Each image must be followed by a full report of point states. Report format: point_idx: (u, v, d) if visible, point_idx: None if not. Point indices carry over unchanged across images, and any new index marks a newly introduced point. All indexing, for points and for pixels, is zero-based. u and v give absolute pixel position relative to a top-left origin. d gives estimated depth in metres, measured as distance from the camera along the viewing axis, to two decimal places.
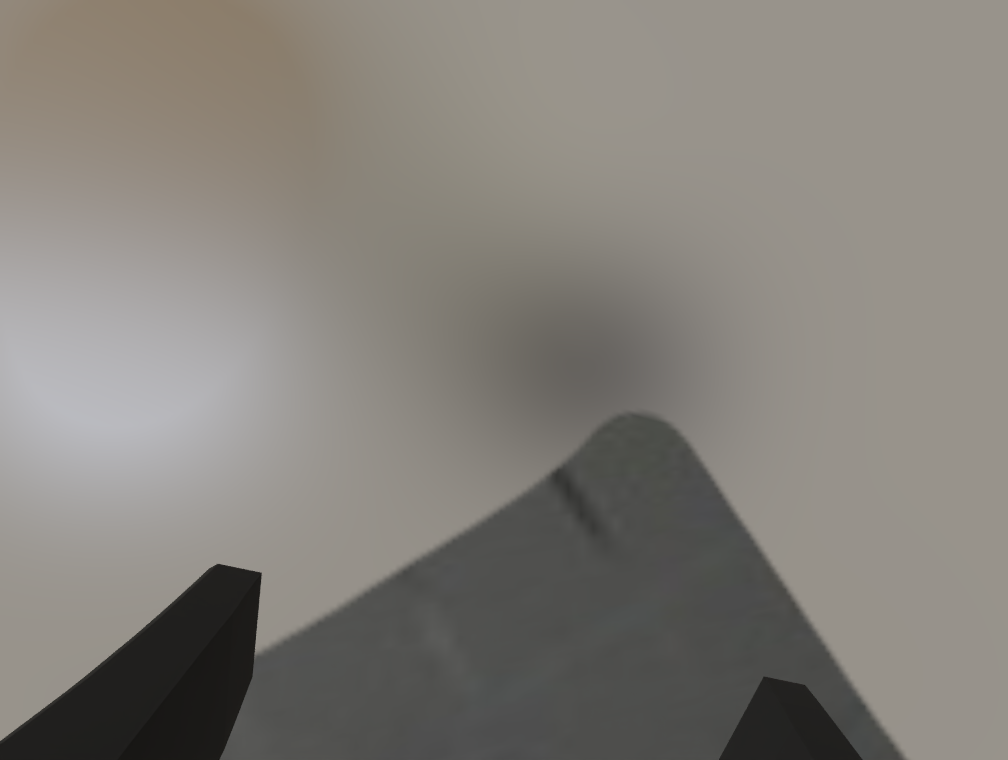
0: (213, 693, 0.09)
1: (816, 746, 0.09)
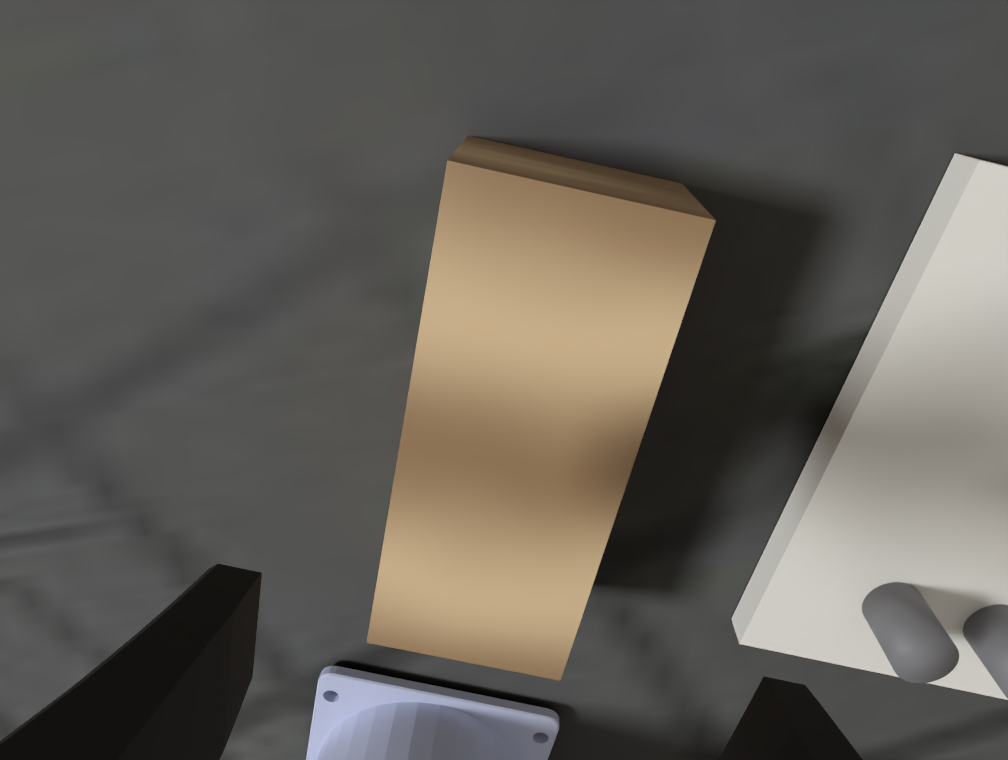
0: (213, 692, 0.09)
1: (816, 746, 0.09)
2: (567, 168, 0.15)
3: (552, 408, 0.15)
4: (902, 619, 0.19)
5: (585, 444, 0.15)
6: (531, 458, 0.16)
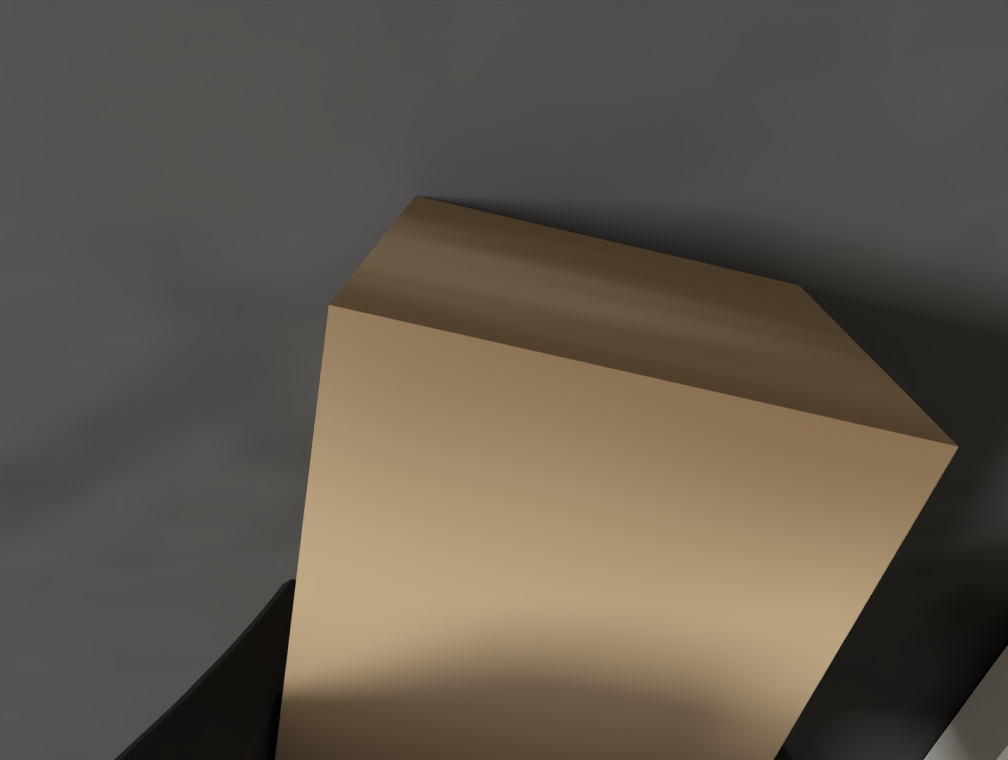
0: None
1: None
2: (602, 281, 0.07)
3: None
4: None
5: None
6: None
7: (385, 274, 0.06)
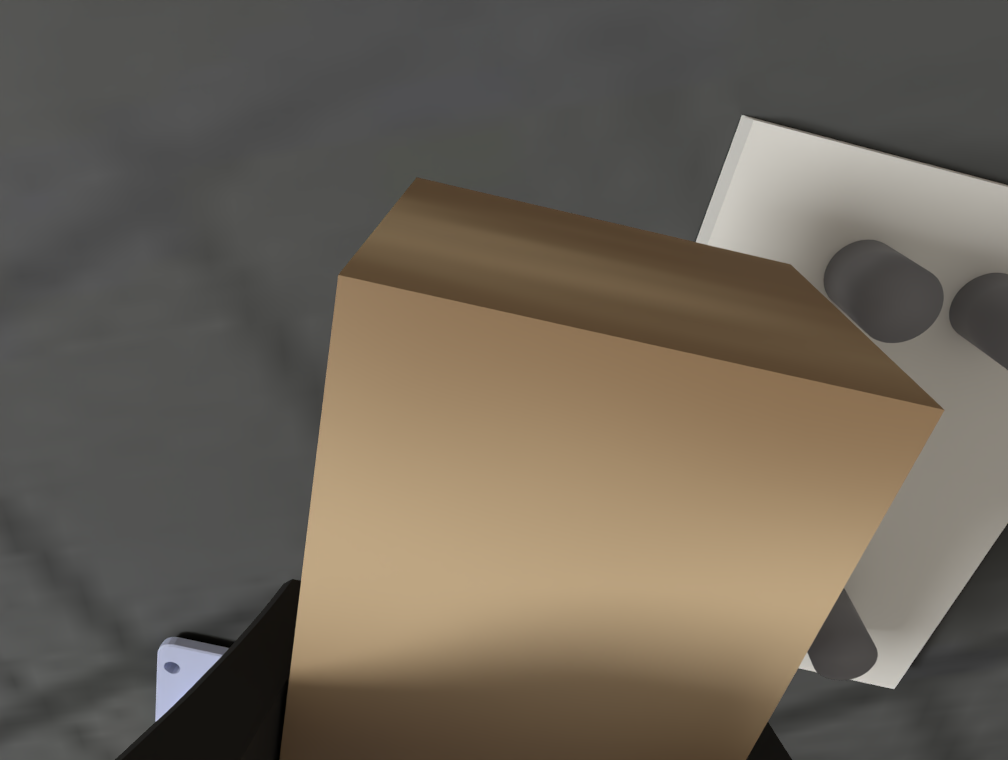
0: None
1: None
2: (600, 258, 0.08)
3: (568, 726, 0.08)
4: None
5: None
6: None
7: (390, 248, 0.06)
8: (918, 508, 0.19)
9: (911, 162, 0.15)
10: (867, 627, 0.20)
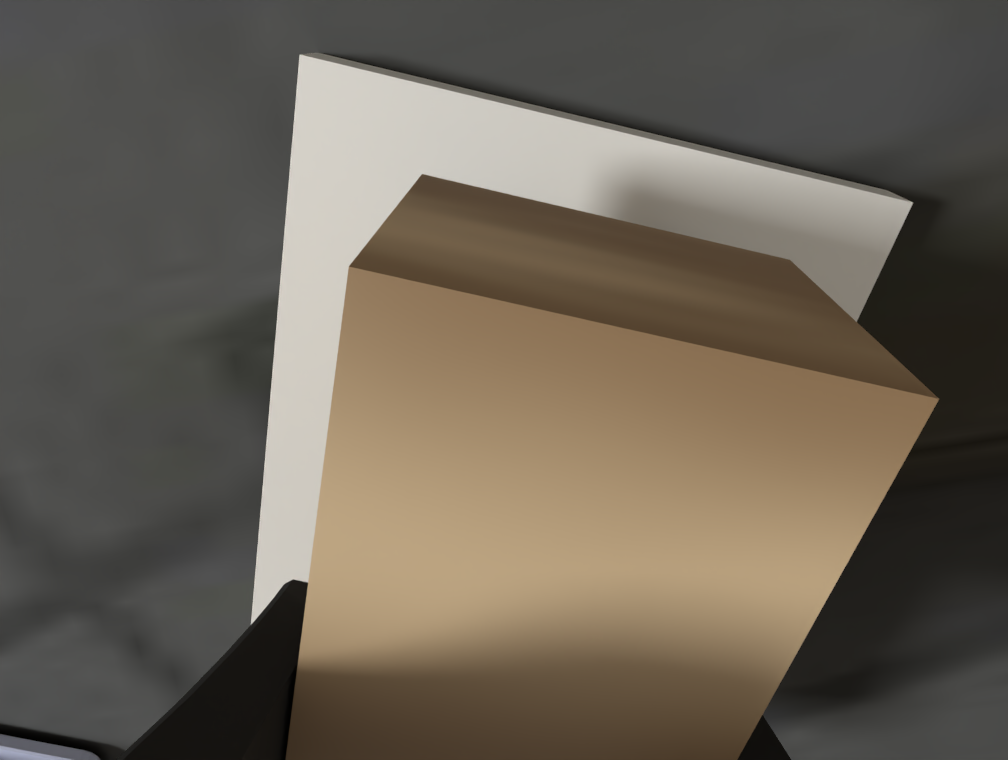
0: None
1: None
2: (602, 252, 0.08)
3: (570, 711, 0.08)
4: None
5: None
6: None
7: (398, 242, 0.07)
8: None
9: (516, 108, 0.11)
10: None
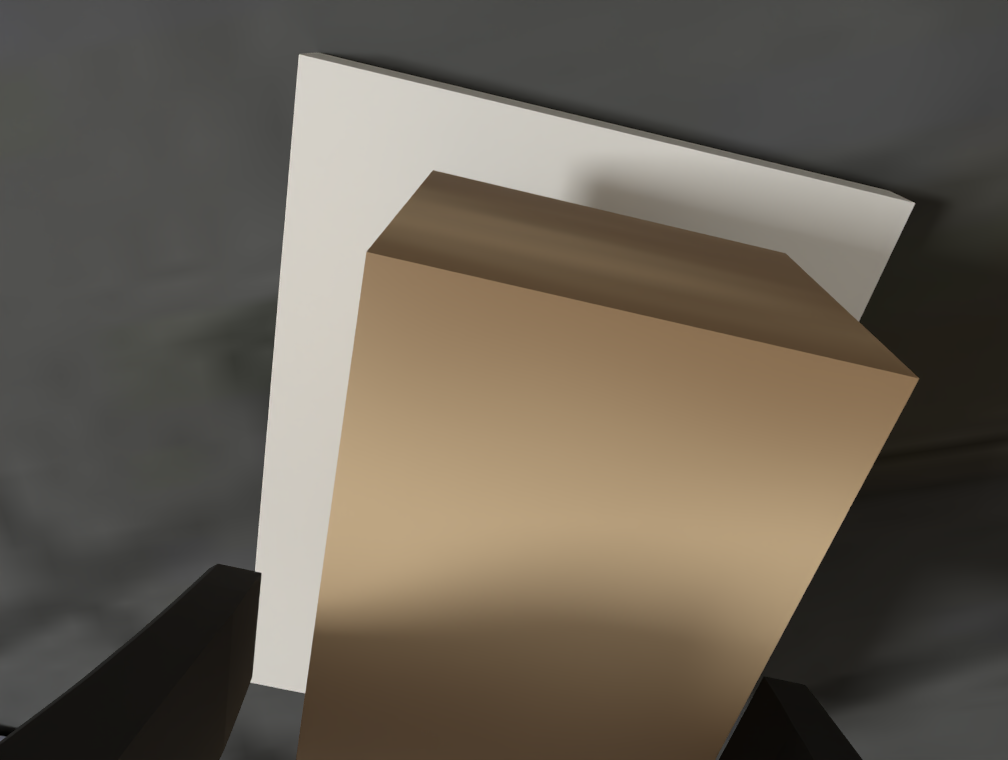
0: (213, 693, 0.09)
1: (816, 746, 0.09)
2: (604, 243, 0.08)
3: (572, 680, 0.08)
4: None
5: (629, 733, 0.09)
6: (532, 749, 0.09)
7: (412, 231, 0.07)
8: None
9: (516, 108, 0.11)
10: None
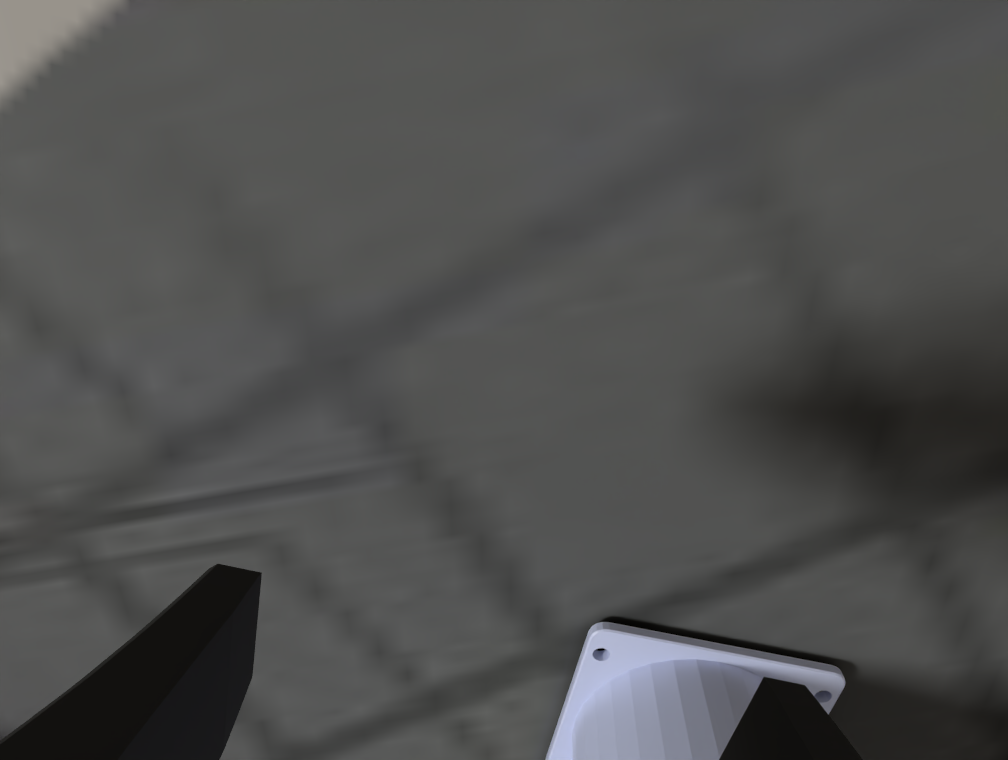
0: (212, 693, 0.09)
1: (816, 746, 0.09)
2: None
3: None
4: None
5: None
6: None
7: None
8: None
9: None
10: None
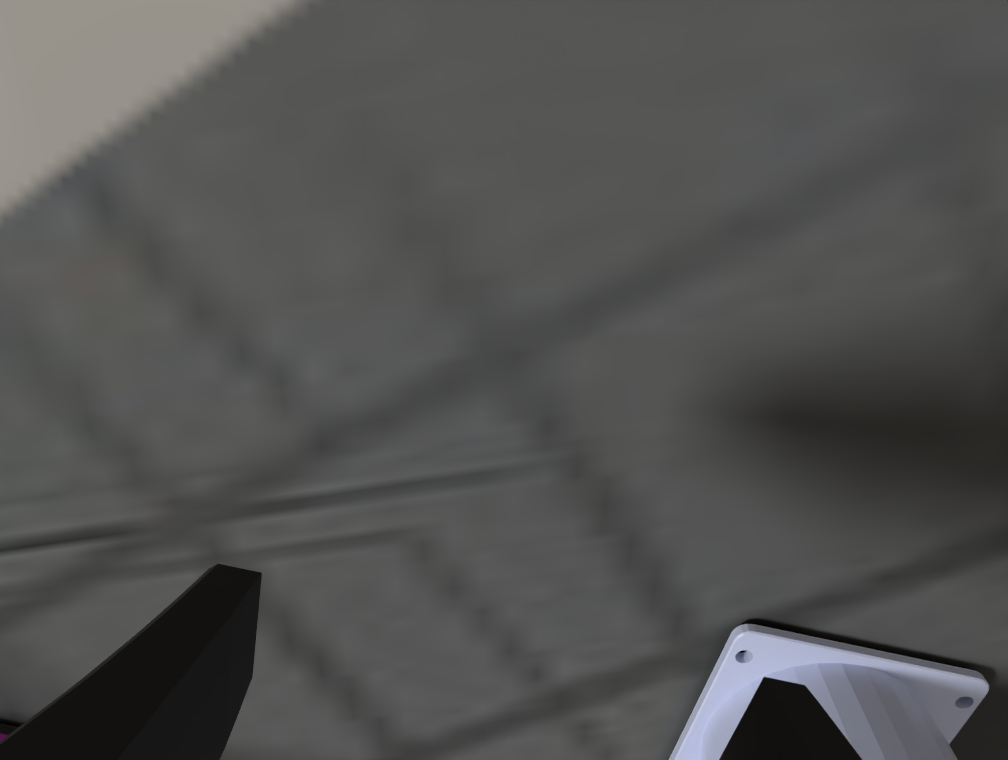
0: (213, 693, 0.09)
1: (816, 746, 0.09)
2: None
3: None
4: None
5: None
6: None
7: None
8: None
9: None
10: None
